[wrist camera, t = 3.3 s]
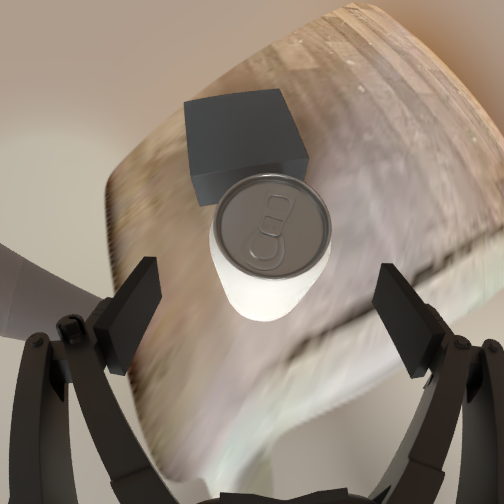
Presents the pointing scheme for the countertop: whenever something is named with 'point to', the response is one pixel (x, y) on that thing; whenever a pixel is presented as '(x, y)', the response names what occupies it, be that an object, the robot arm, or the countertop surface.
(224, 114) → the grey block
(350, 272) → the countertop surface
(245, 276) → the can
